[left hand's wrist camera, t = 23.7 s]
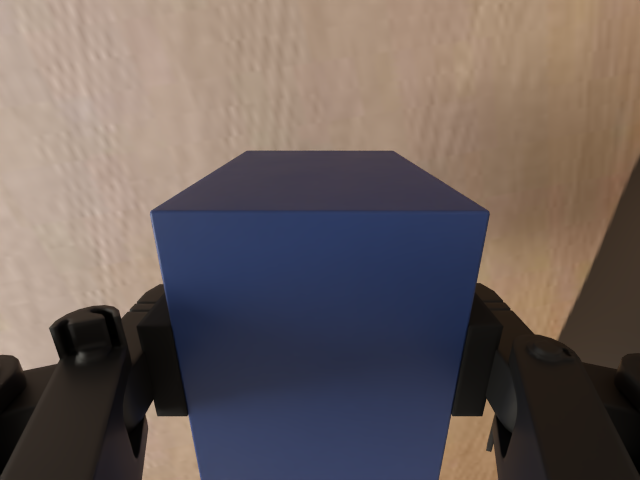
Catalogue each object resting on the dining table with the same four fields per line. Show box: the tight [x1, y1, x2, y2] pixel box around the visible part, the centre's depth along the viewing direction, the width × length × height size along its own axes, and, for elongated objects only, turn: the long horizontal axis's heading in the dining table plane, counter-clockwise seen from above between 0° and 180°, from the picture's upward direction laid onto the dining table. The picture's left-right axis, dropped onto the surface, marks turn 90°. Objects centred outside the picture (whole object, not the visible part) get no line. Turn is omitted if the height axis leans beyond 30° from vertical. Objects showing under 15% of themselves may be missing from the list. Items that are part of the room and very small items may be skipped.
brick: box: [150, 151, 490, 480], centre depth 13 cm, size 8×7×9 cm
